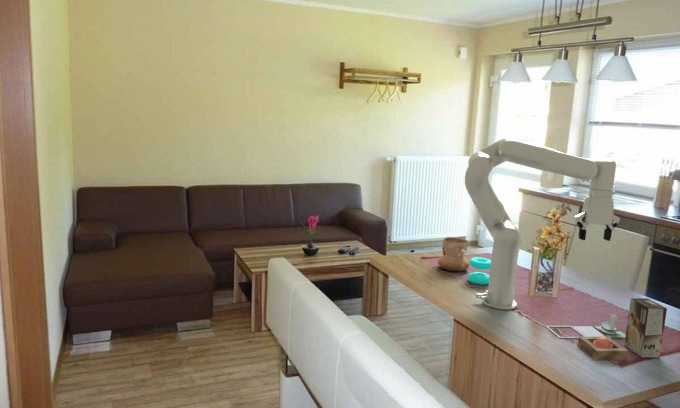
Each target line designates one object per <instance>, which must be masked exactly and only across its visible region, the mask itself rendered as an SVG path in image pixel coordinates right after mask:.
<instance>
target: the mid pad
mask: <svg viewBox="0 0 680 408" xmlns="http://www.w3.org/2000/svg"><path fill="white" fill-rule="evenodd" d="M572 327H574V328H575V329H576V330H578V331H579V332H580V333H582V334H583V335H584V336H586V337H607V336H606V335H605V334H603V333H602V332H600V331H599V330H597V329H596V328H595V327H594V326H591V325H587V326H584V325H581V326H579V325H576V326H575V325H573V326H572Z"/></svg>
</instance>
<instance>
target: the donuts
mask: <svg viewBox="0 0 680 408" xmlns="http://www.w3.org/2000/svg"><path fill="white" fill-rule="evenodd" d="M468 261H469V264H470V265H469V266H471V268H474V269H476V270H482V272H481V271H474V272H470V273H469V274H468V276H467V279H468V281H469V283H470V282H471V284H476V285H482V286H483V285H489V277H490V274H487V273H485V272H483V271H484V270H490V267H491V259H490V258H489V259H488V258H487V257H486V258H485V257H480V256H479V257H472V258H470V259H469V260H468Z"/></svg>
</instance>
